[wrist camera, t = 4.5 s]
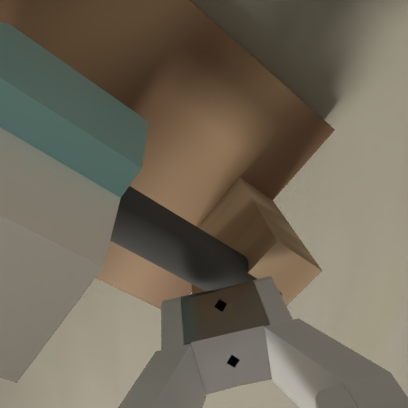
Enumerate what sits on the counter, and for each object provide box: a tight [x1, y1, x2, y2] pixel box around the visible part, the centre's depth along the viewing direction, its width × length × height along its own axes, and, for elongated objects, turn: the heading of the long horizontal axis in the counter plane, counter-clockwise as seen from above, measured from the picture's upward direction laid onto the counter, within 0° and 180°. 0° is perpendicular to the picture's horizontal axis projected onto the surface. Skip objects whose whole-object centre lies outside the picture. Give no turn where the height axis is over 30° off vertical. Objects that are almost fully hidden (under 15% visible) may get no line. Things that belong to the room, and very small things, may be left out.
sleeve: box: [0, 22, 149, 383], centre depth 8 cm, size 4×4×7 cm
